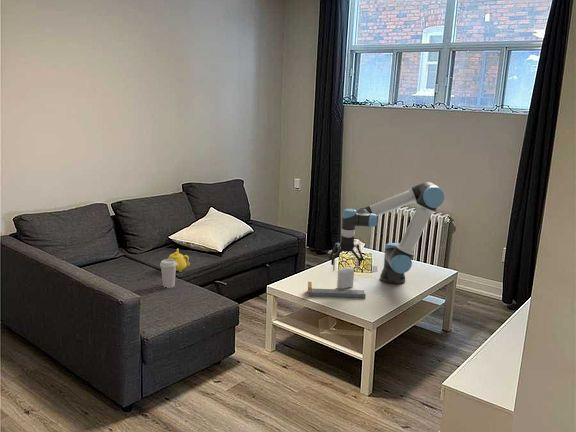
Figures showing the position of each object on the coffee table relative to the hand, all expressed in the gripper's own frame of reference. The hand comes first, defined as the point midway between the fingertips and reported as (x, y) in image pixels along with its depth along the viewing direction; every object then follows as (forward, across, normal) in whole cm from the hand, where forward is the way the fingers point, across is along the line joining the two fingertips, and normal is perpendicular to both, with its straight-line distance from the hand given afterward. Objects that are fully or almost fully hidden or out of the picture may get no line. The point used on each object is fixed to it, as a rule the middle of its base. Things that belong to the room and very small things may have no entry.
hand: (345, 271), depth 322 cm
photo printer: (+10, -1, 0) cm, 10 cm away
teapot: (+12, +102, -20) cm, 105 cm away
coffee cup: (+12, +101, +8) cm, 102 cm away
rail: (+10, +5, +12) cm, 17 cm away
